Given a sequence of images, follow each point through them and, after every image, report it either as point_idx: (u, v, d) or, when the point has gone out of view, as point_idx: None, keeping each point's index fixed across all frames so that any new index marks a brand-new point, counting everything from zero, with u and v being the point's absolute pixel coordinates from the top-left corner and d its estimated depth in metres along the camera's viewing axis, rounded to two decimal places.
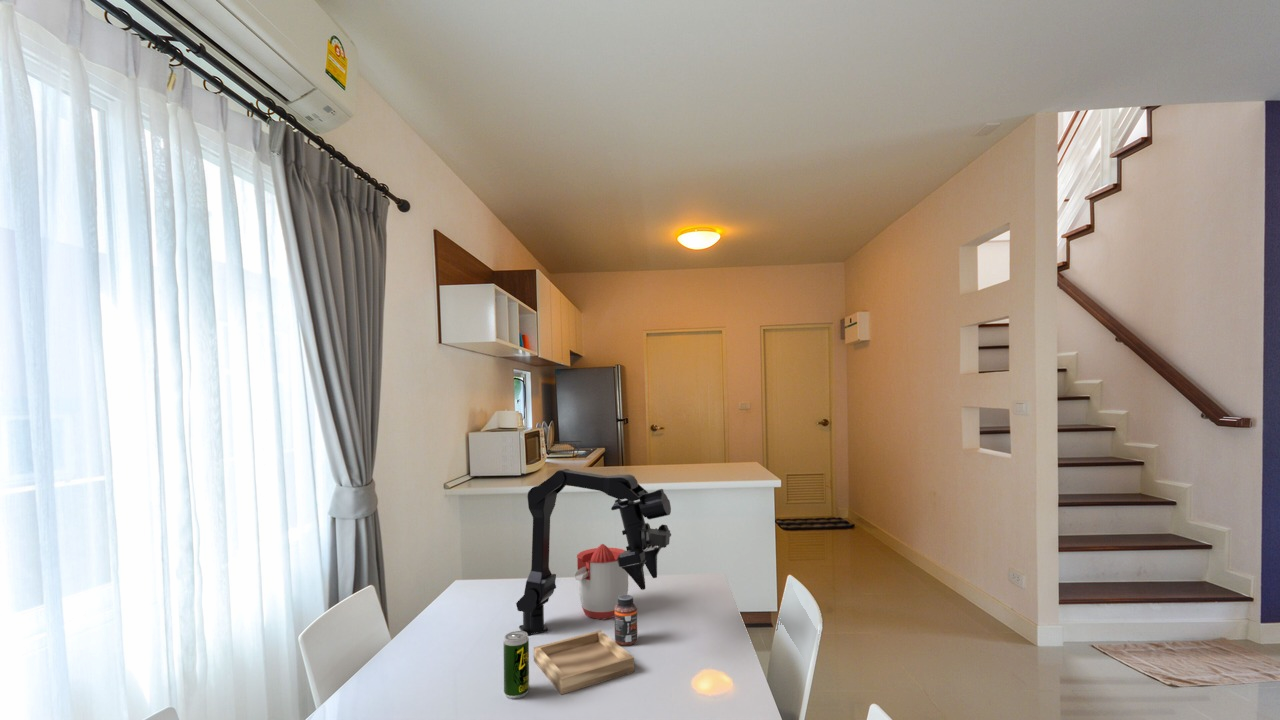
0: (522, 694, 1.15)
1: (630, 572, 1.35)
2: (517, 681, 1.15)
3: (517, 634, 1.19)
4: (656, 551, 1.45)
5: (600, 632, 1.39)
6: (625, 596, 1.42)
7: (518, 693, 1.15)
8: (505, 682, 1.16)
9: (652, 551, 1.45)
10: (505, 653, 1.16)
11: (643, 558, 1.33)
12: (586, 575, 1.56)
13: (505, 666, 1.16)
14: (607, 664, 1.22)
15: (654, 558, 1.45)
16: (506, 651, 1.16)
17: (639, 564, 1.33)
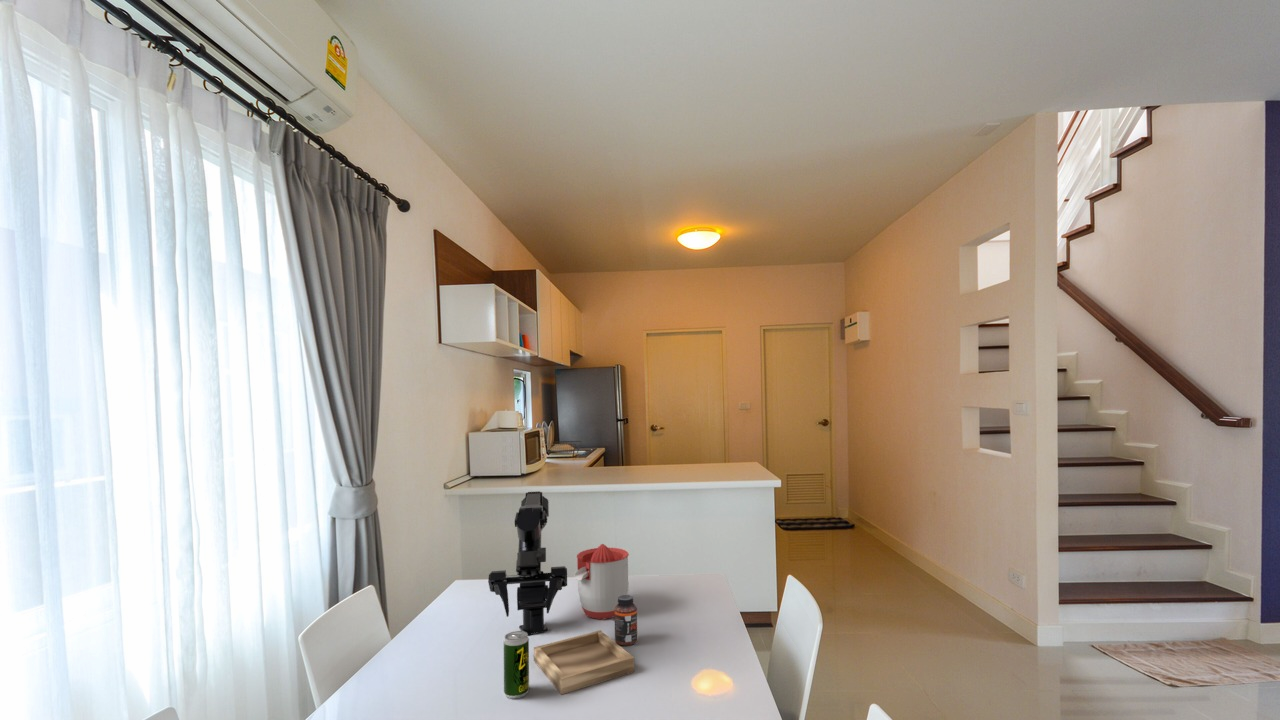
0: (522, 694, 1.15)
1: (502, 598, 1.30)
2: (517, 681, 1.15)
3: (517, 634, 1.19)
4: None
5: (600, 632, 1.39)
6: (625, 596, 1.42)
7: (518, 693, 1.15)
8: (505, 682, 1.16)
9: None
10: (505, 653, 1.16)
11: (498, 578, 1.29)
12: (586, 575, 1.56)
13: (505, 666, 1.16)
14: (607, 664, 1.22)
15: (548, 590, 1.30)
16: (506, 651, 1.16)
17: (494, 584, 1.29)
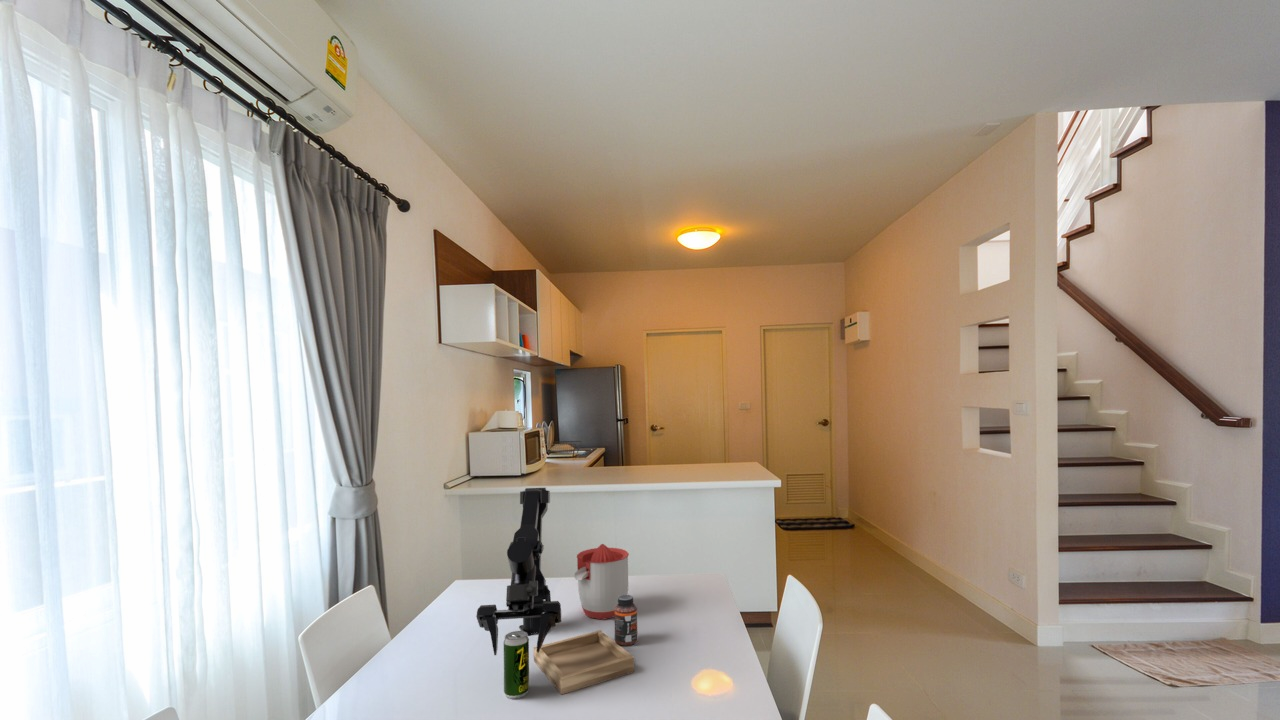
0: (522, 694, 1.15)
1: None
2: (517, 681, 1.15)
3: (517, 634, 1.19)
4: (541, 617, 1.22)
5: (600, 632, 1.39)
6: (625, 596, 1.42)
7: (518, 693, 1.15)
8: (505, 682, 1.16)
9: None
10: (505, 653, 1.16)
11: (487, 613, 1.22)
12: (586, 575, 1.56)
13: (505, 666, 1.16)
14: (607, 664, 1.22)
15: (540, 627, 1.22)
16: (506, 651, 1.16)
17: None
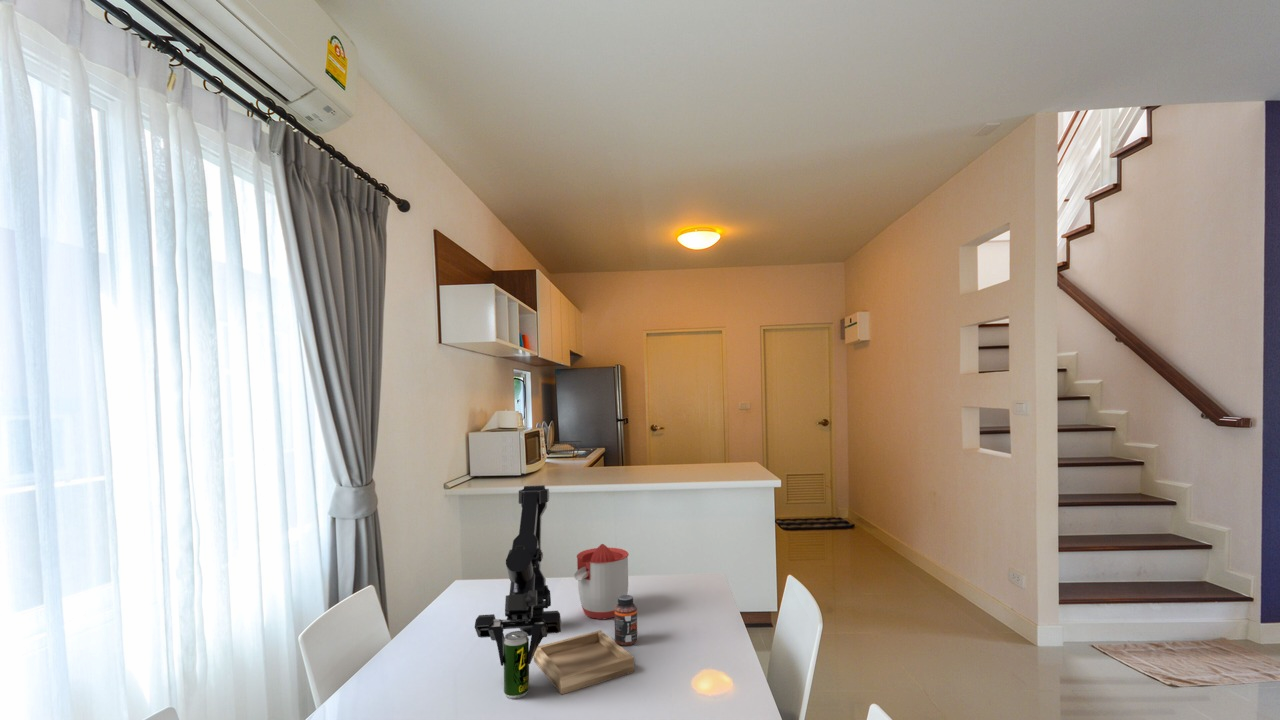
0: (522, 694, 1.15)
1: None
2: (517, 681, 1.15)
3: (517, 634, 1.19)
4: None
5: (600, 632, 1.39)
6: (625, 596, 1.42)
7: (518, 693, 1.15)
8: (505, 682, 1.16)
9: None
10: (505, 653, 1.16)
11: (485, 623, 1.20)
12: (586, 575, 1.56)
13: (505, 666, 1.16)
14: (607, 664, 1.22)
15: (531, 637, 1.20)
16: (506, 651, 1.16)
17: None
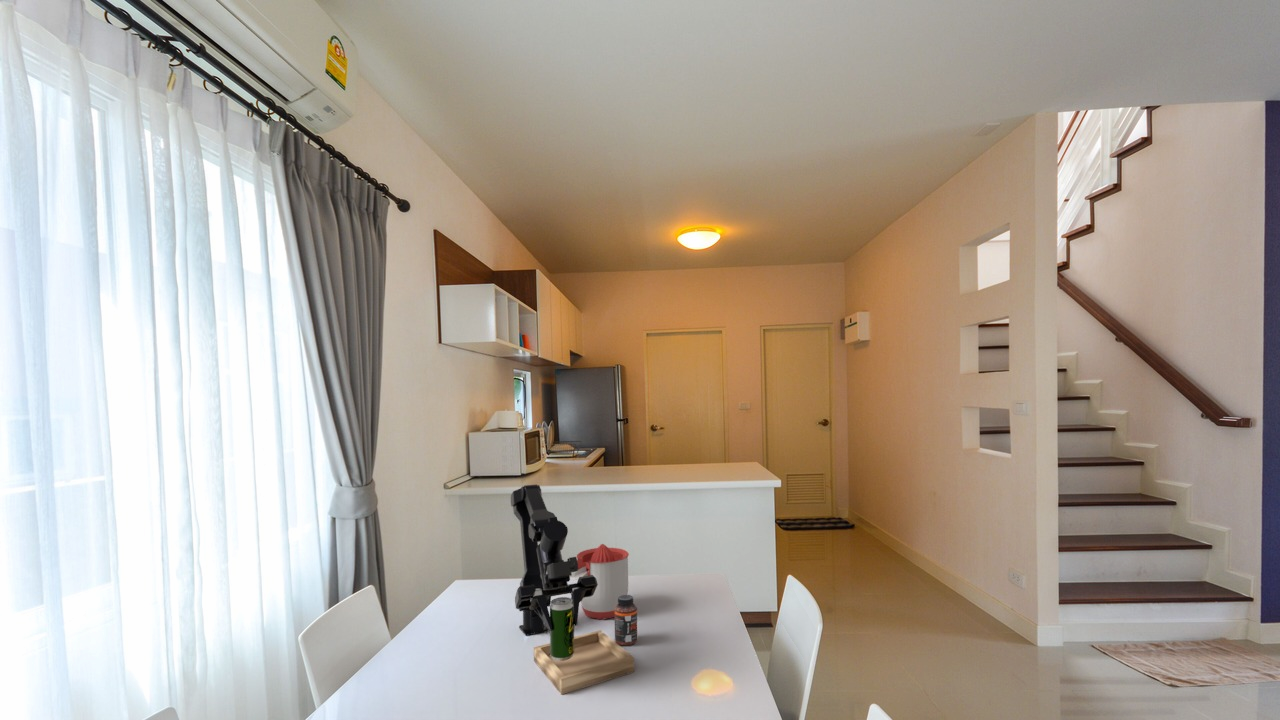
0: (571, 655, 1.21)
1: (539, 613, 1.24)
2: (567, 643, 1.20)
3: (561, 600, 1.23)
4: (573, 593, 1.26)
5: (600, 632, 1.39)
6: (625, 596, 1.42)
7: (568, 654, 1.20)
8: (554, 646, 1.20)
9: (572, 594, 1.26)
10: (554, 618, 1.20)
11: (529, 593, 1.22)
12: (586, 575, 1.56)
13: (554, 631, 1.20)
14: (607, 664, 1.22)
15: (573, 602, 1.25)
16: (555, 616, 1.20)
17: (532, 598, 1.22)
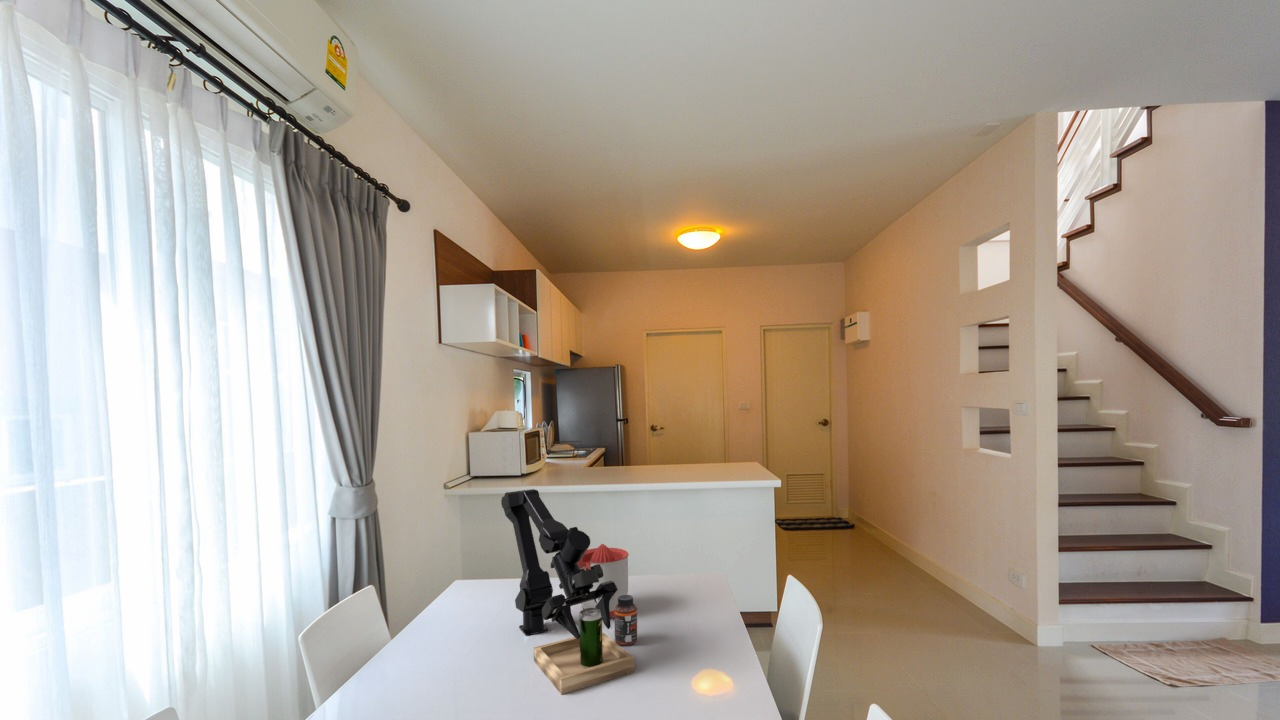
0: (601, 663, 1.26)
1: (562, 623, 1.26)
2: (599, 652, 1.25)
3: (589, 611, 1.28)
4: (603, 597, 1.32)
5: None
6: (625, 596, 1.42)
7: (600, 662, 1.25)
8: (587, 656, 1.24)
9: (601, 599, 1.32)
10: (586, 629, 1.25)
11: (560, 602, 1.25)
12: None
13: (587, 641, 1.24)
14: (607, 664, 1.22)
15: (603, 606, 1.31)
16: (587, 627, 1.25)
17: (558, 609, 1.24)
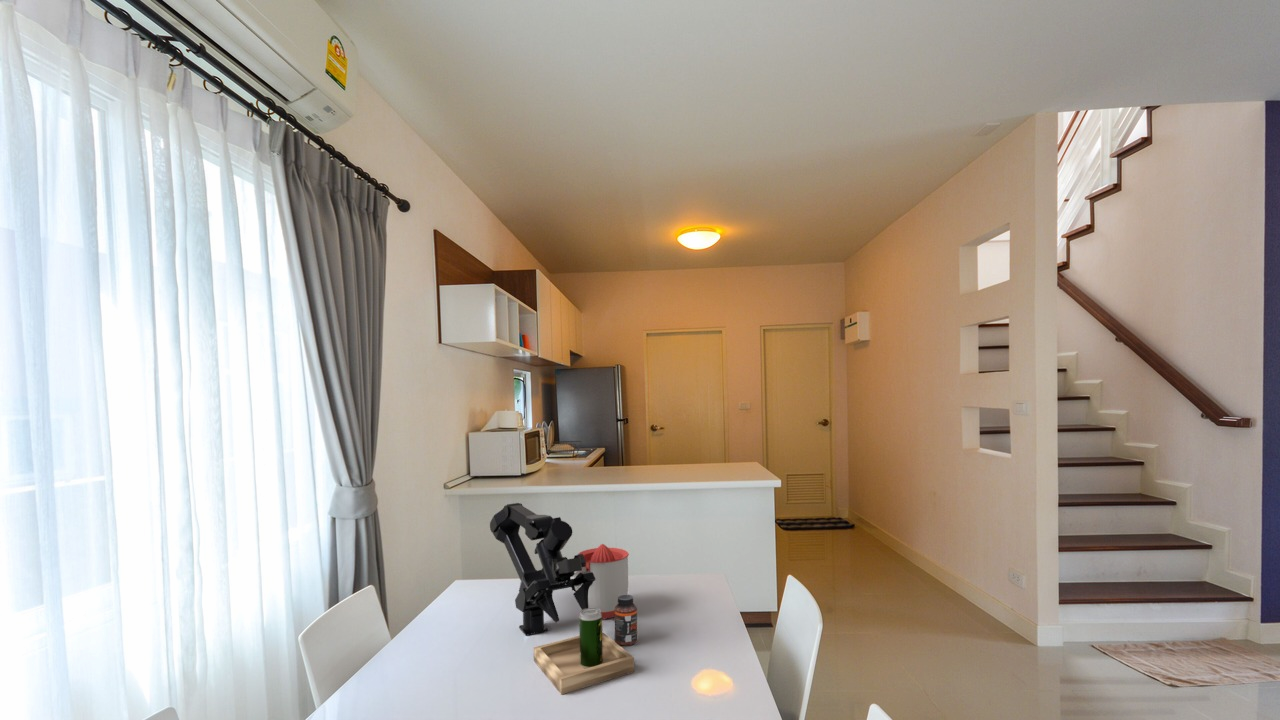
0: (601, 663, 1.26)
1: (542, 606, 1.33)
2: (599, 652, 1.25)
3: (589, 611, 1.28)
4: (583, 585, 1.40)
5: None
6: (625, 596, 1.42)
7: (600, 662, 1.25)
8: (587, 656, 1.24)
9: (581, 587, 1.41)
10: (587, 629, 1.25)
11: (545, 586, 1.32)
12: None
13: (587, 641, 1.24)
14: (607, 664, 1.22)
15: (583, 593, 1.39)
16: (587, 626, 1.25)
17: (541, 592, 1.31)
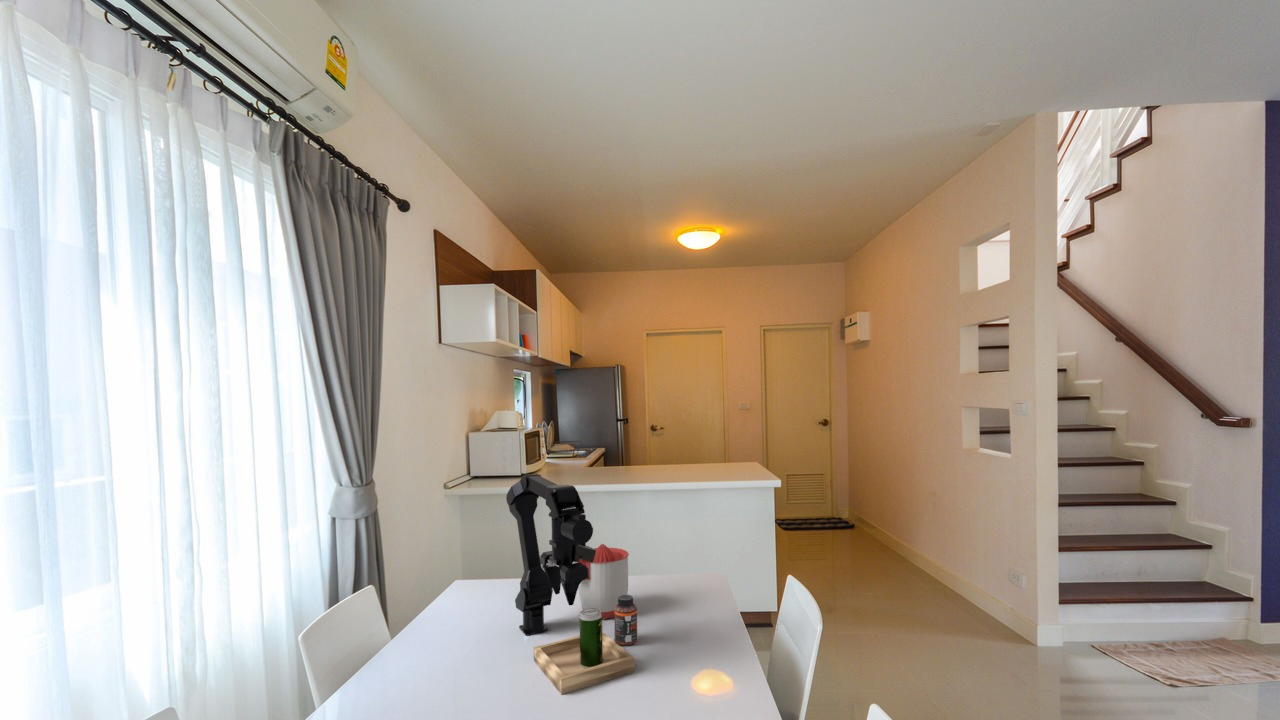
0: (601, 663, 1.26)
1: (567, 587, 1.31)
2: (599, 652, 1.25)
3: (589, 611, 1.28)
4: None
5: None
6: (625, 596, 1.42)
7: (600, 662, 1.25)
8: (587, 656, 1.24)
9: (559, 566, 1.42)
10: (587, 629, 1.25)
11: None
12: None
13: (587, 641, 1.24)
14: (607, 664, 1.22)
15: None
16: (588, 627, 1.25)
17: (583, 578, 1.31)
